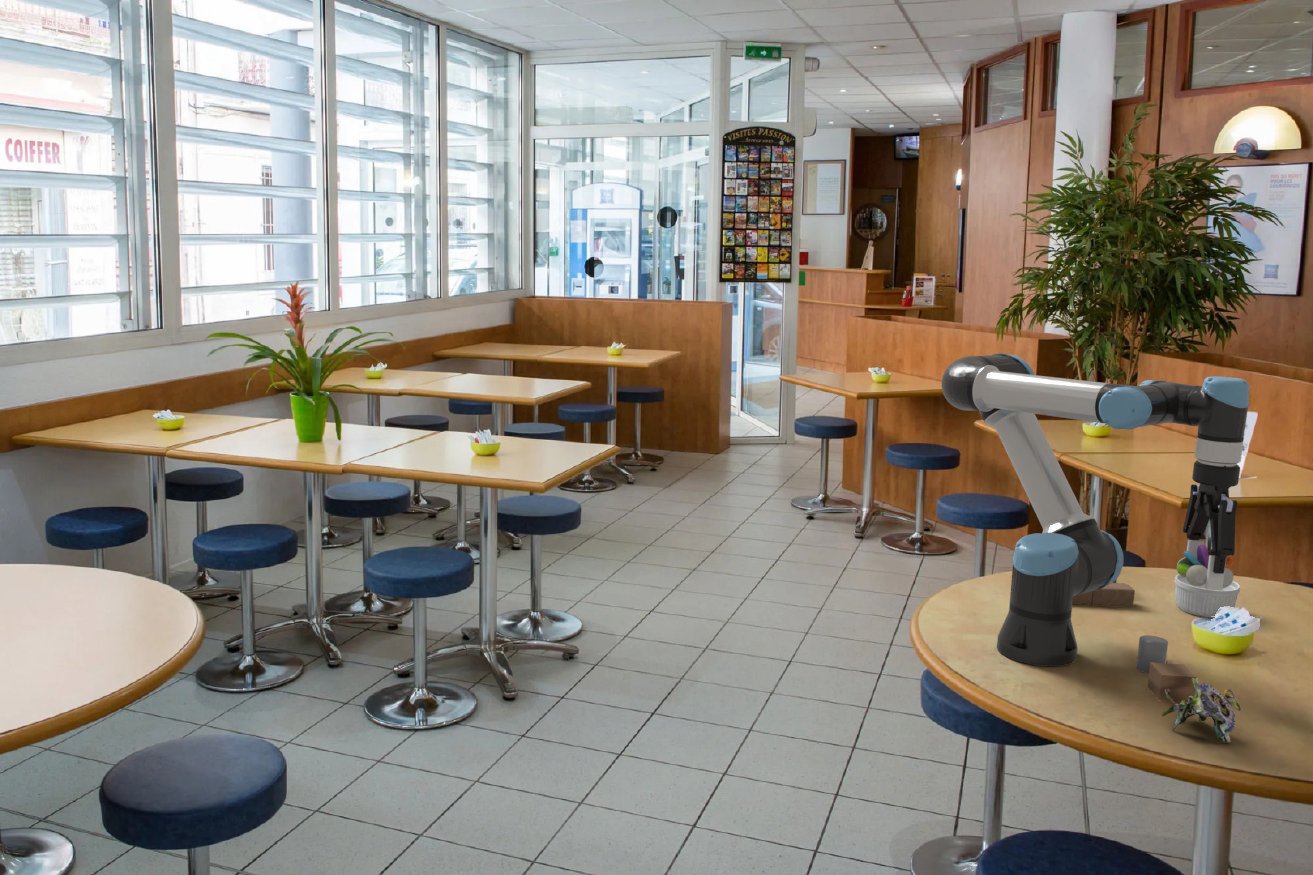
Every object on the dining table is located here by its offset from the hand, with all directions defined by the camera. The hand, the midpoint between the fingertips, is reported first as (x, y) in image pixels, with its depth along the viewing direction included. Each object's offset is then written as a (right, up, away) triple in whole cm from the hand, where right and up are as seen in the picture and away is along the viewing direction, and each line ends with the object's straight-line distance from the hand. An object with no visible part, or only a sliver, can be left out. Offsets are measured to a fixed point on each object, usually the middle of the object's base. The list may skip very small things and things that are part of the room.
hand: (1202, 581), depth 198 cm
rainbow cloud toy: (0, -1, 0) cm, 1 cm away
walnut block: (-8, -20, -4) cm, 22 cm away
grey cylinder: (-6, -18, +8) cm, 21 cm away
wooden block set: (-1, -11, +53) cm, 54 cm away
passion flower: (-11, -23, -20) cm, 32 cm away
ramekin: (+23, -13, +43) cm, 50 cm away
